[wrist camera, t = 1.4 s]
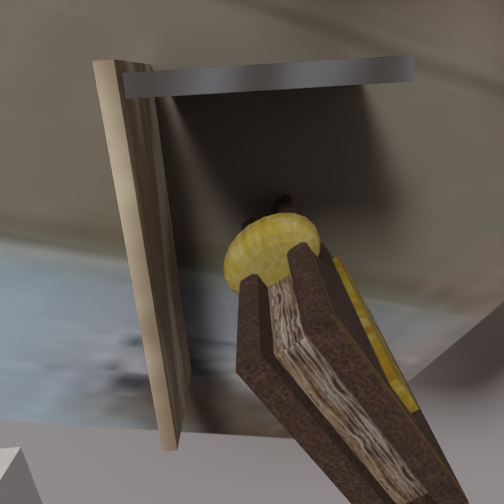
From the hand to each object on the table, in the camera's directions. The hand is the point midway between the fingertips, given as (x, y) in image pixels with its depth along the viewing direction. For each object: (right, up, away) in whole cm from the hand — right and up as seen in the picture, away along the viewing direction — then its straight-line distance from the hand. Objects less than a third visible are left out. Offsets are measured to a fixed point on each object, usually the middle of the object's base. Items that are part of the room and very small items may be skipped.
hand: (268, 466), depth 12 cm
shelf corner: (0, +8, +36) cm, 37 cm away
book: (+6, +4, +38) cm, 38 cm away
